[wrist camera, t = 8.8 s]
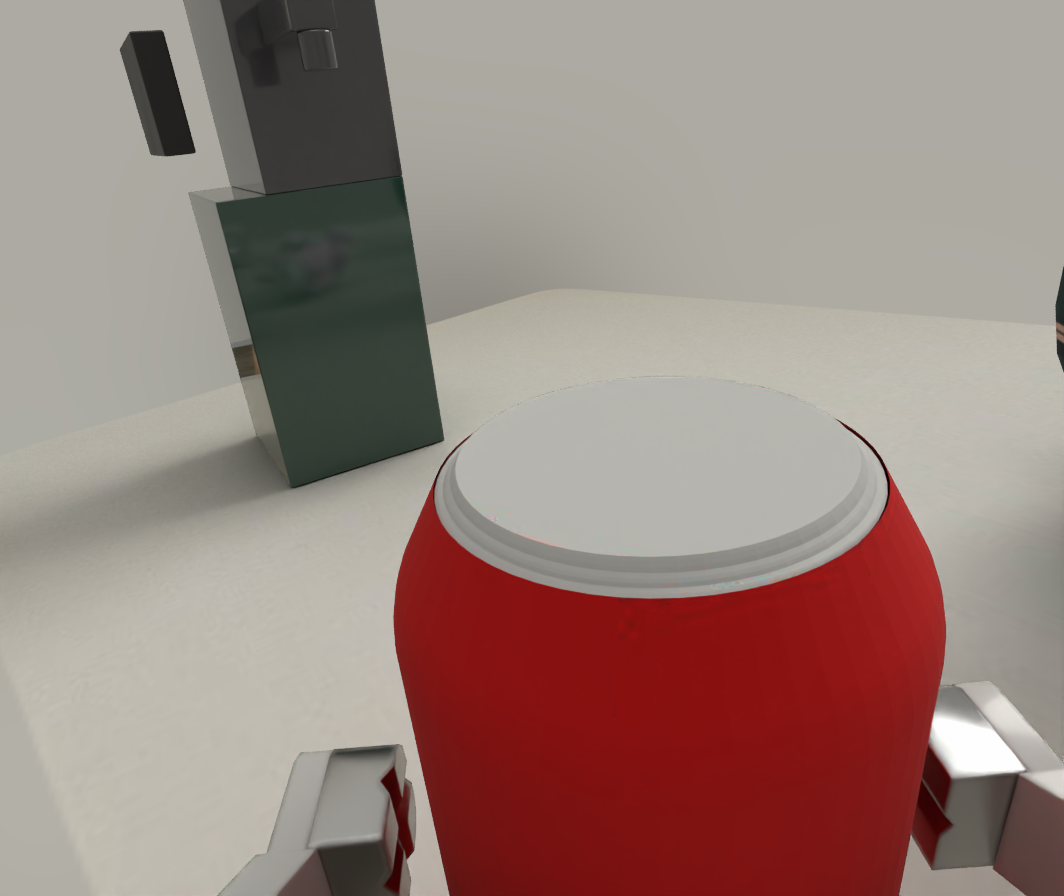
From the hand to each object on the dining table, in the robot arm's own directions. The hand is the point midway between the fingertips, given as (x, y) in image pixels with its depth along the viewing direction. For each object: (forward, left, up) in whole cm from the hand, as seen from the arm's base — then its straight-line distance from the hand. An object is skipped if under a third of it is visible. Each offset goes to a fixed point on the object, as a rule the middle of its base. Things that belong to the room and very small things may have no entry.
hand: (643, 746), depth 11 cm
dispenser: (+4, +28, -7) cm, 29 cm away
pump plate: (-1, +31, +8) cm, 32 cm away
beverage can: (0, -1, -7) cm, 7 cm away
